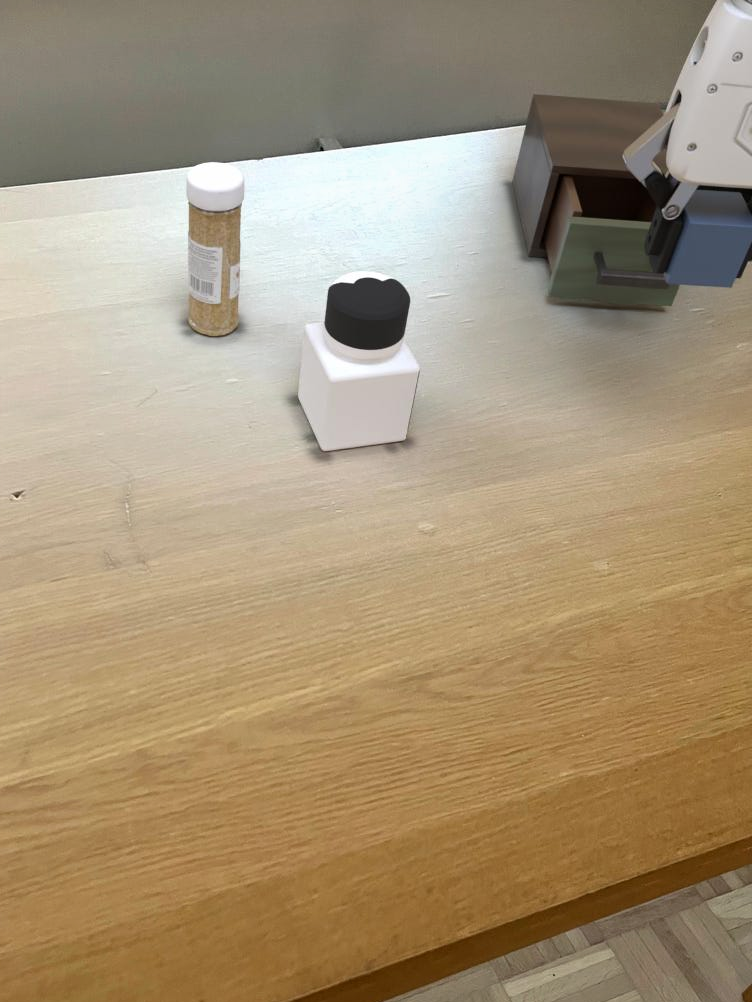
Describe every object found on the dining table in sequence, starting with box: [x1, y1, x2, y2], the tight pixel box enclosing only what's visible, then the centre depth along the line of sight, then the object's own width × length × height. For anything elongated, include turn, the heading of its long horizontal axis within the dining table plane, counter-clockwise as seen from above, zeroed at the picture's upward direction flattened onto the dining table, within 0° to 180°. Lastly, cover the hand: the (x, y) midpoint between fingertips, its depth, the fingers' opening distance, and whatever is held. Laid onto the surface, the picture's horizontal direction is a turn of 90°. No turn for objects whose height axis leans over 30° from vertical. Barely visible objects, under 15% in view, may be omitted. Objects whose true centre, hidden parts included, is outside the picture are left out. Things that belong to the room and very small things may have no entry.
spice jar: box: [185, 161, 245, 337], centre depth 87 cm, size 5×5×14 cm
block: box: [664, 189, 752, 289], centre depth 73 cm, size 5×5×5 cm
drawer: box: [543, 174, 681, 307], centre depth 97 cm, size 18×11×7 cm, turn 178°
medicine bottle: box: [297, 270, 421, 452], centre depth 81 cm, size 7×7×12 cm
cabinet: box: [511, 93, 668, 259], centre depth 104 cm, size 15×13×9 cm
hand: (693, 263), depth 75 cm, fingers closed on block, 4 cm apart
